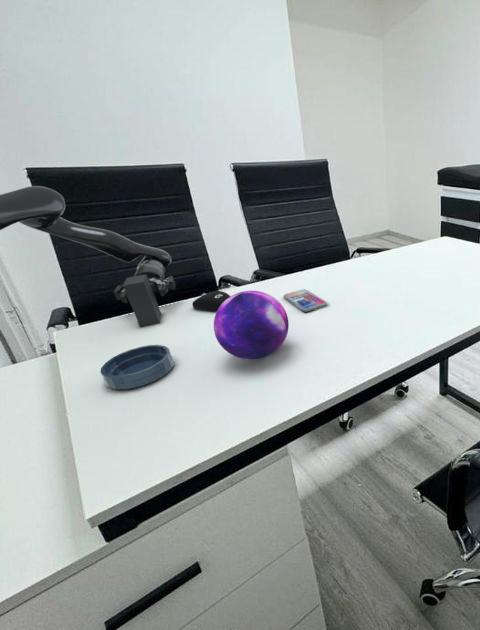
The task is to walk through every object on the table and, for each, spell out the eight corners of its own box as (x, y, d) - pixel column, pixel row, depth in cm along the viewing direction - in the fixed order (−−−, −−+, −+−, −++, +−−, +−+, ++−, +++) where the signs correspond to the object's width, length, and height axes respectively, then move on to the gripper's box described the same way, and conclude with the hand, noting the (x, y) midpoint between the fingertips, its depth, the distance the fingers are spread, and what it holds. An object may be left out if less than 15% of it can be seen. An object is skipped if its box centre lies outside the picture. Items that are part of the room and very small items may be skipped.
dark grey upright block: (140, 327, 102) (122, 285, 97) (143, 317, 108) (126, 277, 102) (159, 323, 104) (143, 281, 99) (161, 314, 109) (146, 274, 104)
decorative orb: (242, 338, 95) (225, 281, 88) (302, 336, 94) (290, 279, 87) (211, 374, 81) (189, 310, 75) (281, 372, 81) (265, 307, 74)
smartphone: (304, 288, 120) (328, 302, 109) (305, 291, 120) (328, 305, 110) (281, 294, 115) (303, 310, 105) (282, 297, 116) (304, 313, 105)
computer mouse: (221, 314, 107) (217, 301, 106) (190, 309, 111) (185, 296, 110) (241, 303, 114) (238, 291, 112) (210, 299, 118) (206, 287, 116)
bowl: (97, 397, 76) (89, 382, 74) (120, 364, 86) (114, 351, 85) (166, 383, 79) (160, 369, 77) (180, 353, 89) (175, 340, 88)
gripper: (117, 271, 114) (106, 288, 101) (172, 262, 119) (168, 278, 106) (126, 294, 117) (117, 314, 104) (179, 284, 123) (177, 302, 110)
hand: (143, 296), depth 105 cm, fingers open, 8 cm apart
